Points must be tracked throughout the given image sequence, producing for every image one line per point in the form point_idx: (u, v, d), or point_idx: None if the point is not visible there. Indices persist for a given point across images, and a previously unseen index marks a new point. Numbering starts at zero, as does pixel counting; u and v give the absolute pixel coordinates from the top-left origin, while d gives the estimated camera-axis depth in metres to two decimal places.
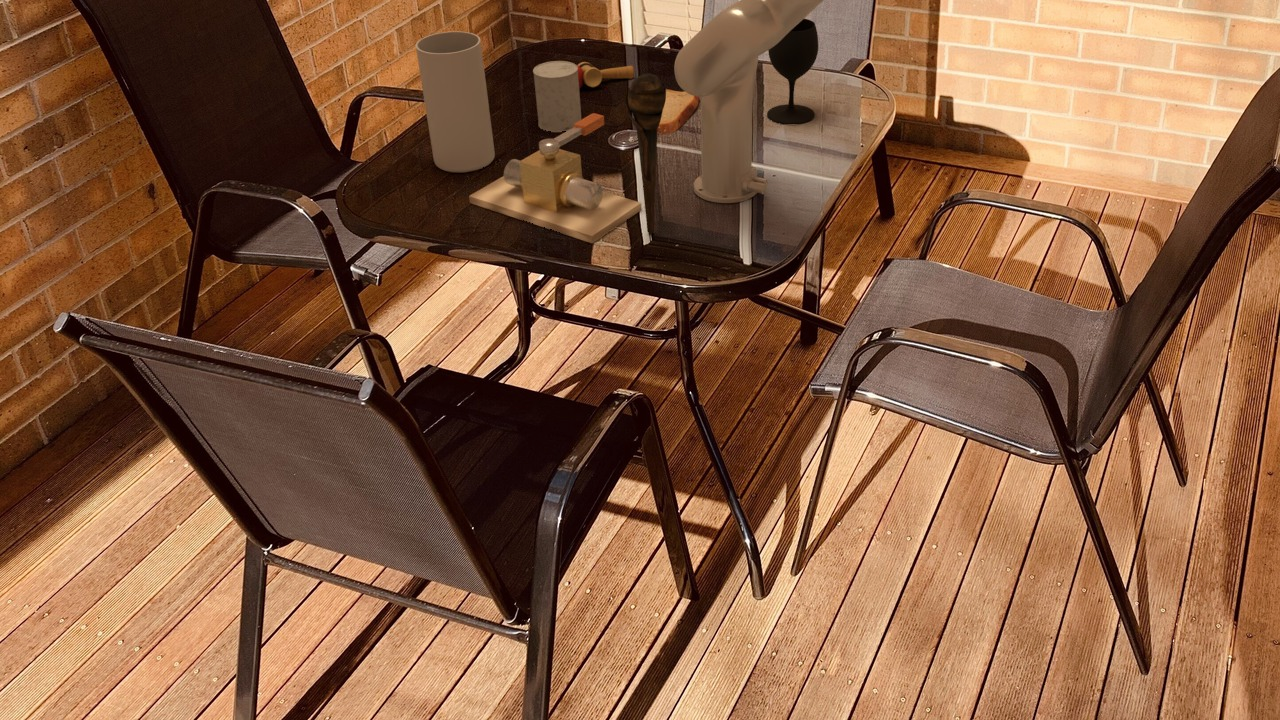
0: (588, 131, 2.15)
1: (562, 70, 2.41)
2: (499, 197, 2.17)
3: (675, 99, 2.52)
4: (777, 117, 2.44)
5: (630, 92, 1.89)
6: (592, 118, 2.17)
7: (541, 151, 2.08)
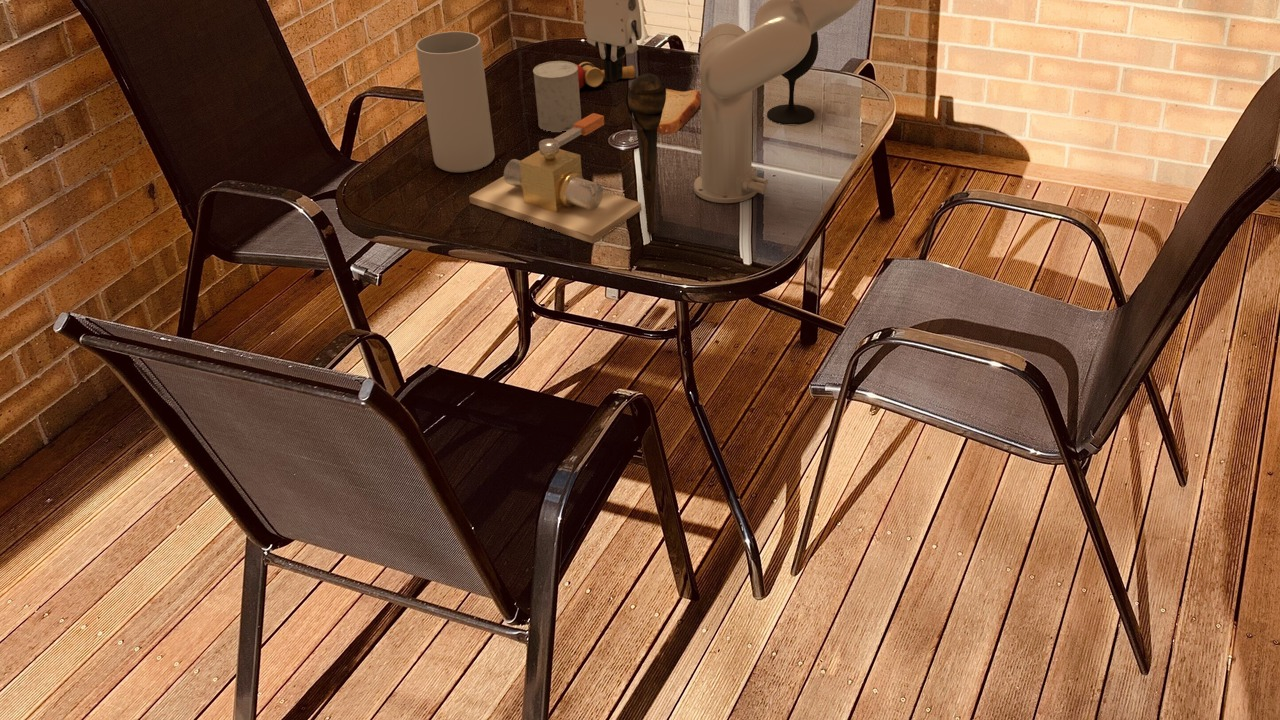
0: (588, 131, 2.15)
1: (562, 70, 2.41)
2: (499, 197, 2.17)
3: (676, 99, 2.52)
4: (777, 117, 2.44)
5: (630, 92, 1.89)
6: (592, 118, 2.17)
7: (541, 151, 2.08)
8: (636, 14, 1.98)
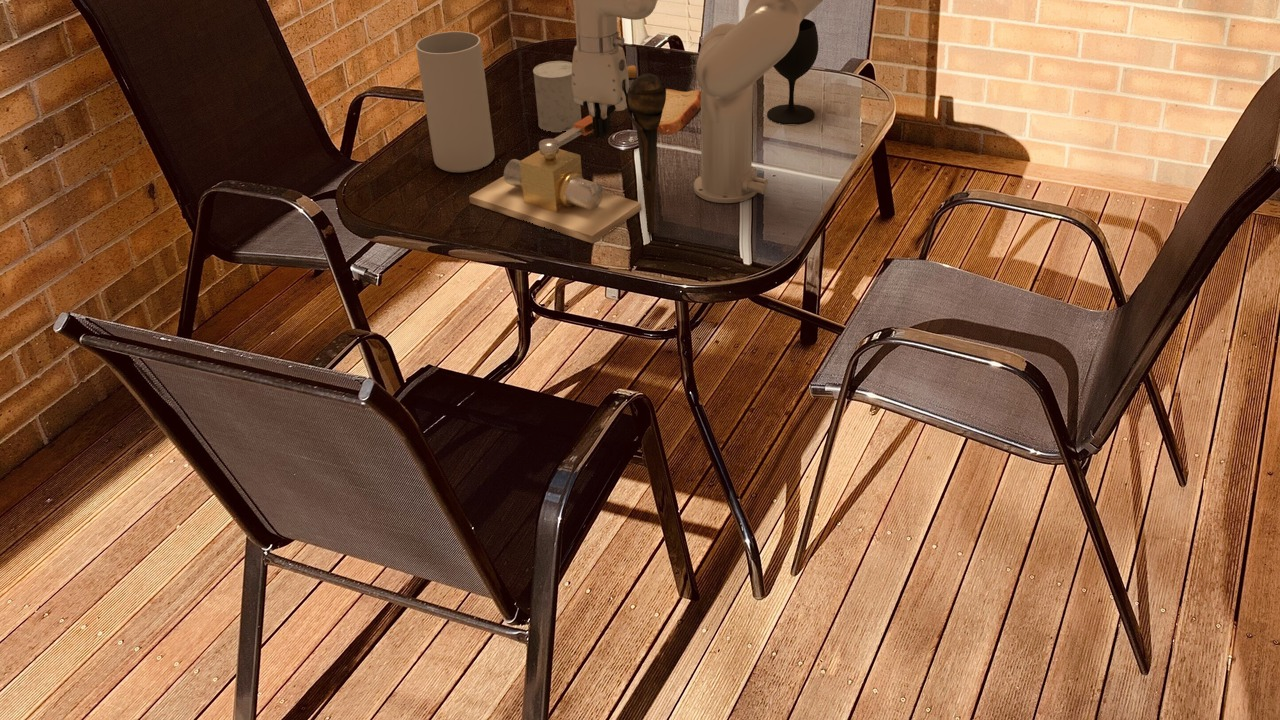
0: (588, 131, 2.15)
1: (562, 70, 2.41)
2: (499, 197, 2.17)
3: (678, 99, 2.52)
4: (777, 117, 2.44)
5: (630, 92, 1.89)
6: None
7: (541, 151, 2.08)
8: (625, 73, 2.07)
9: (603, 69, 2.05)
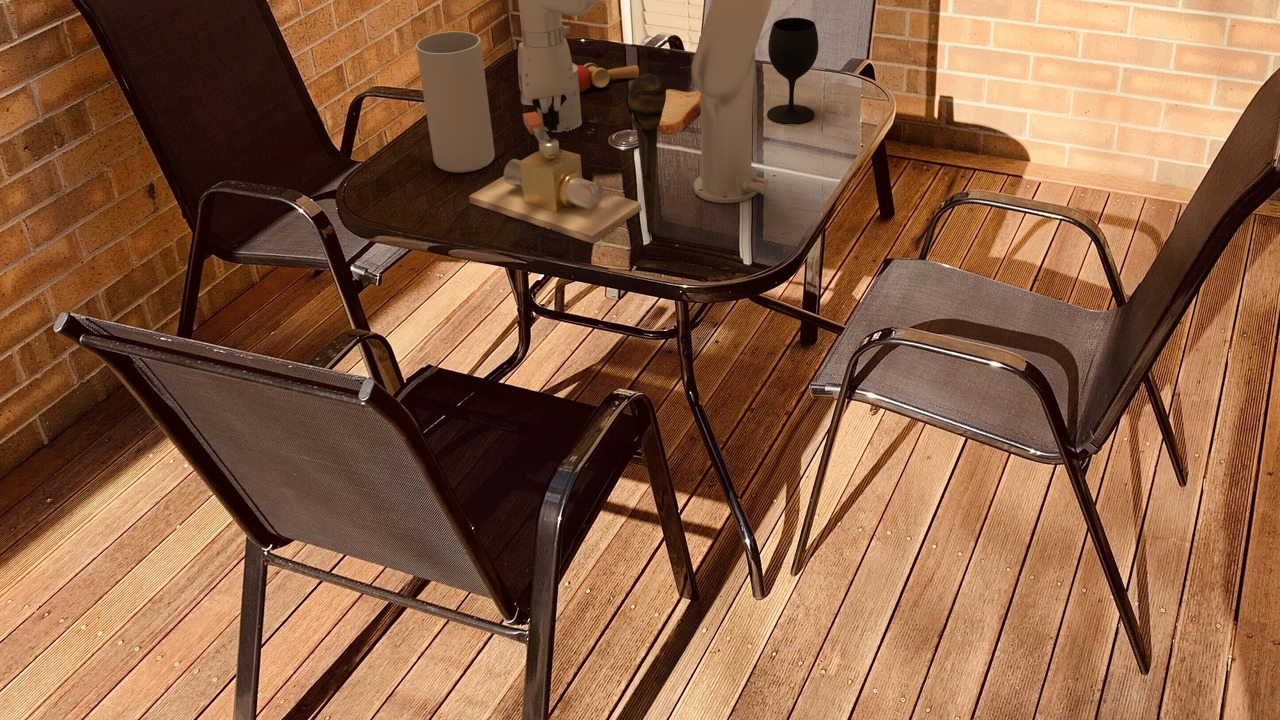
0: None
1: None
2: (499, 197, 2.17)
3: (681, 99, 2.52)
4: (777, 117, 2.44)
5: (630, 92, 1.89)
6: (532, 116, 2.19)
7: (549, 152, 2.08)
8: None
9: (559, 60, 2.10)
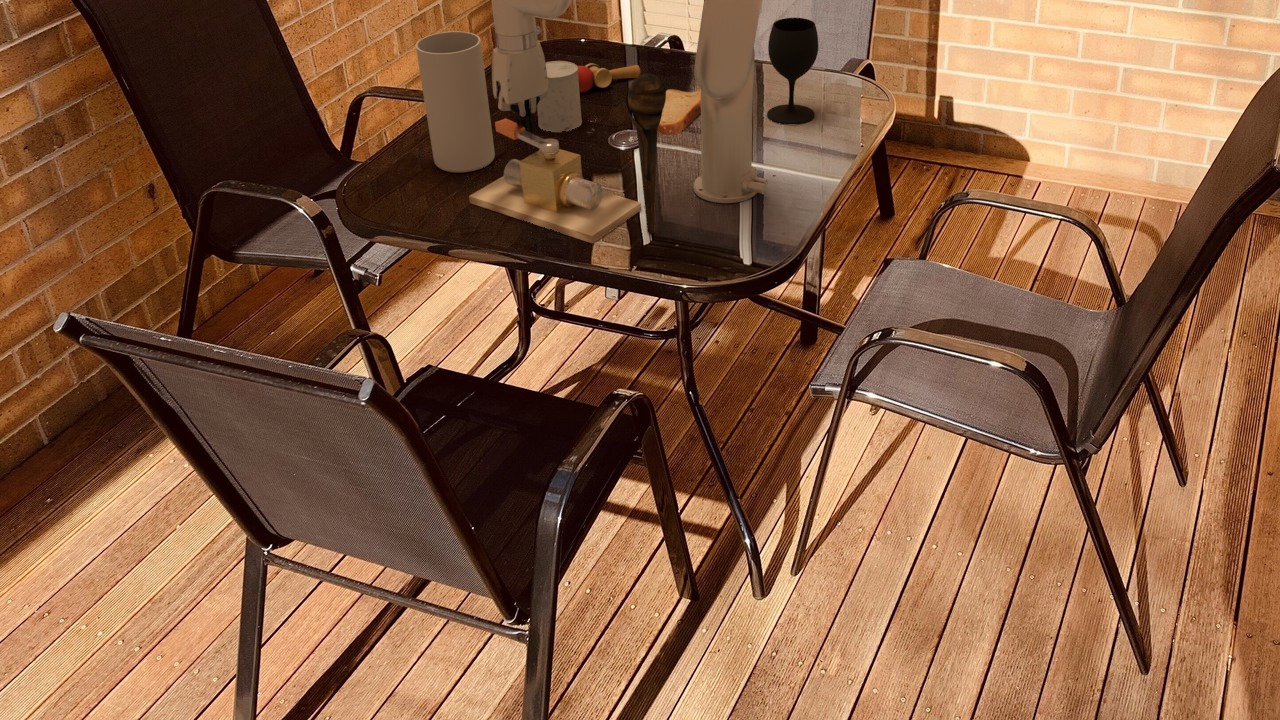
0: None
1: (562, 70, 2.41)
2: (499, 197, 2.17)
3: (682, 99, 2.52)
4: (777, 117, 2.44)
5: (630, 92, 1.89)
6: (507, 123, 2.17)
7: (553, 151, 2.08)
8: None
9: (536, 61, 2.11)
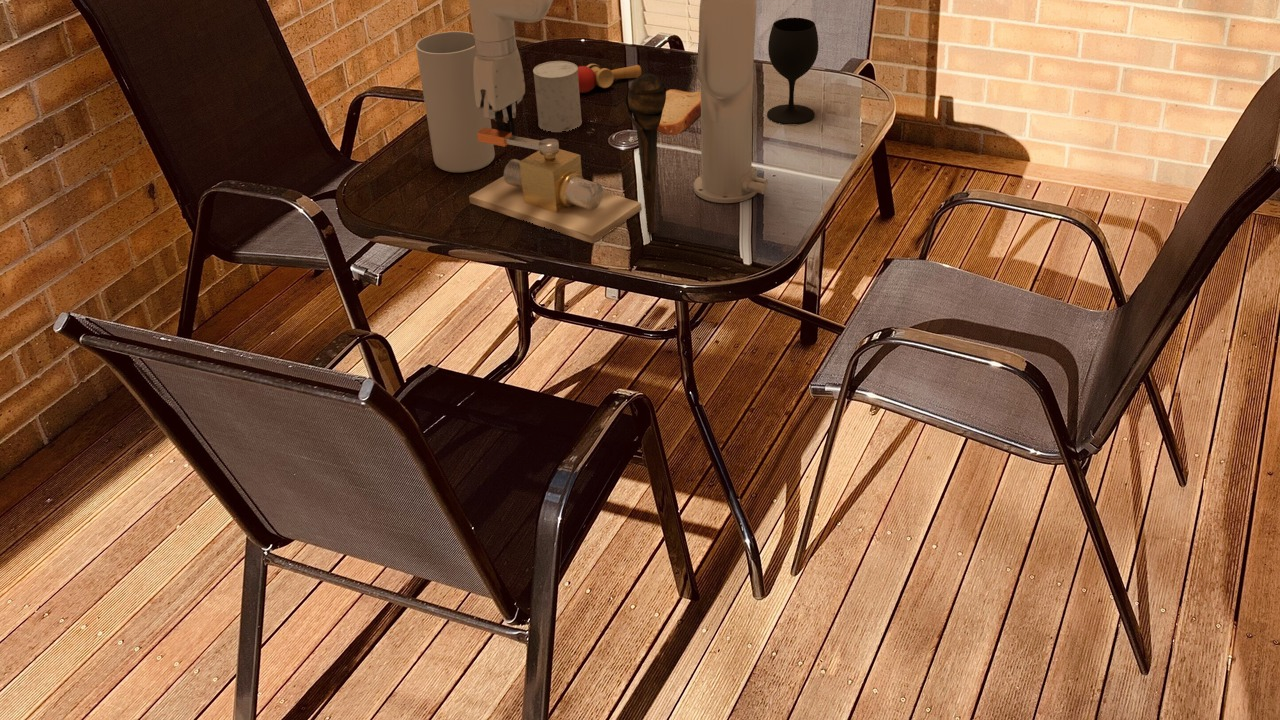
0: None
1: (562, 70, 2.41)
2: (499, 197, 2.17)
3: (683, 99, 2.52)
4: (777, 117, 2.44)
5: (630, 92, 1.89)
6: (490, 131, 2.14)
7: (556, 150, 2.08)
8: None
9: (516, 65, 2.10)
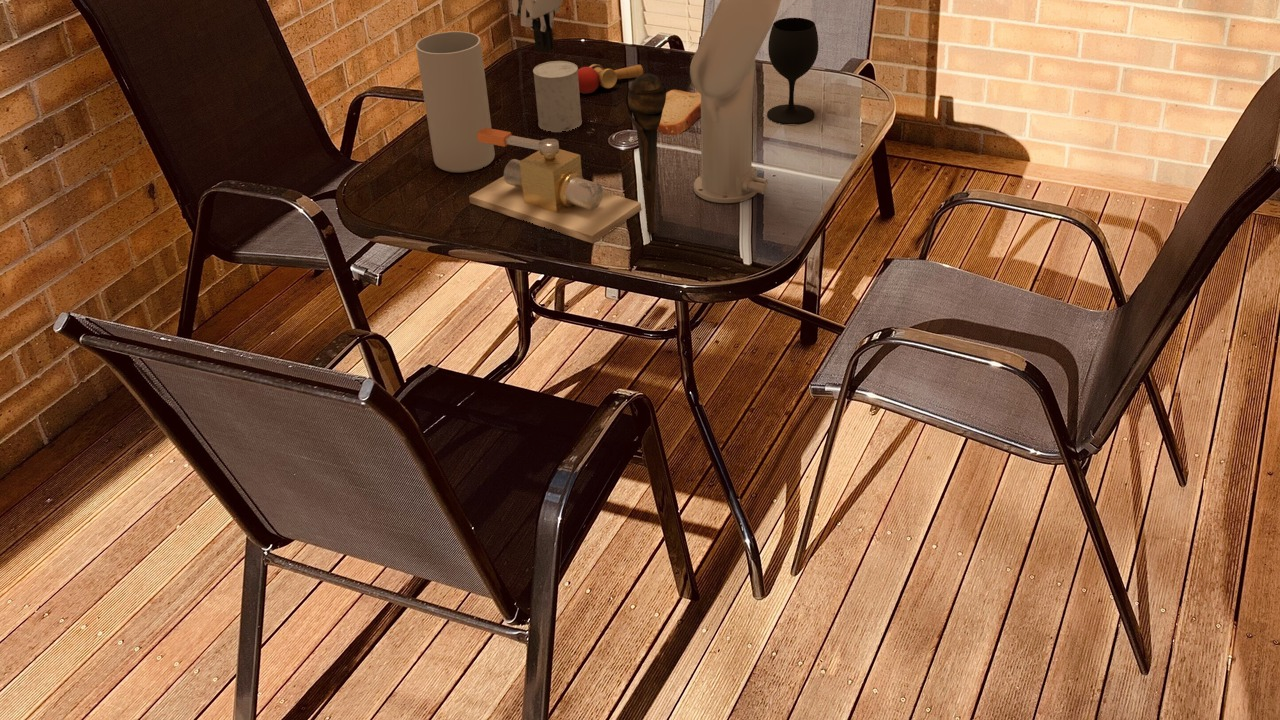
0: None
1: (562, 70, 2.41)
2: (499, 197, 2.17)
3: (685, 100, 2.52)
4: (777, 117, 2.44)
5: (630, 92, 1.89)
6: (490, 131, 2.14)
7: (556, 150, 2.08)
8: None
9: None
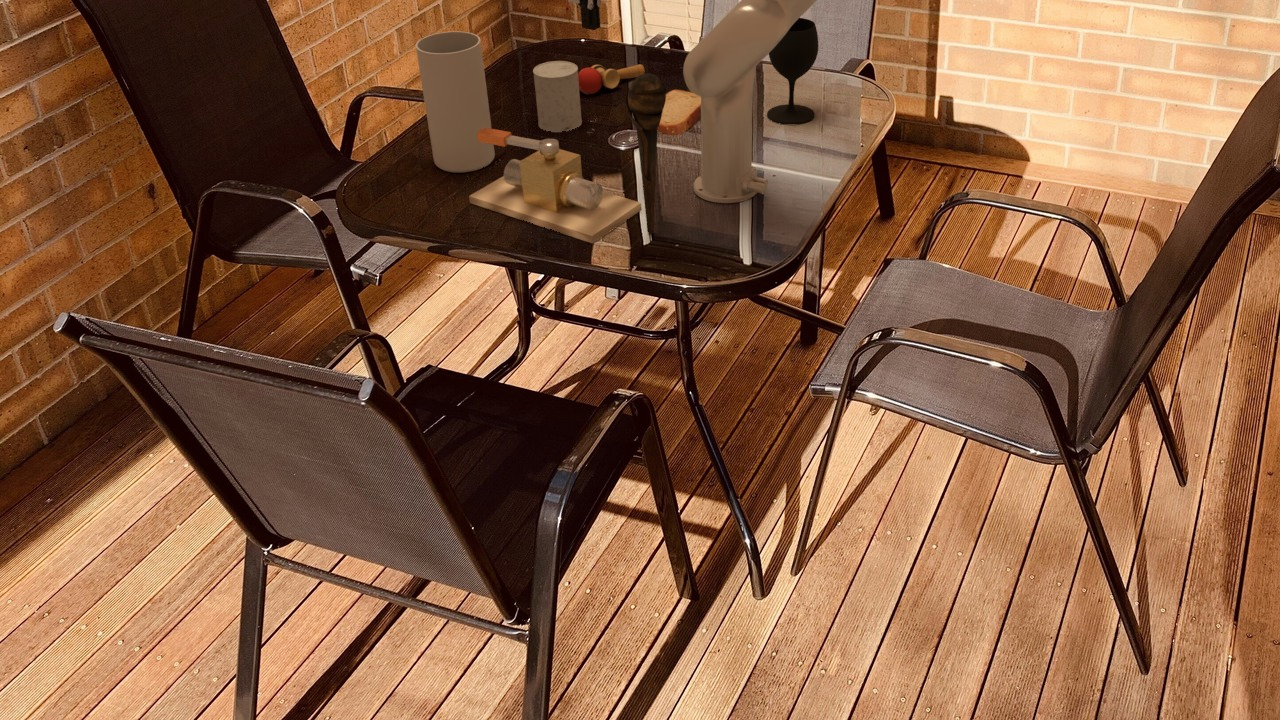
0: None
1: (562, 70, 2.41)
2: (499, 197, 2.17)
3: (686, 100, 2.51)
4: (777, 117, 2.44)
5: (630, 92, 1.89)
6: (490, 131, 2.14)
7: (556, 150, 2.08)
8: None
9: None
